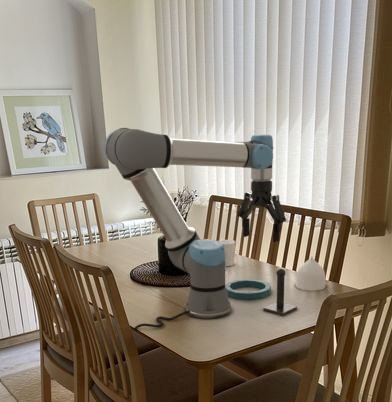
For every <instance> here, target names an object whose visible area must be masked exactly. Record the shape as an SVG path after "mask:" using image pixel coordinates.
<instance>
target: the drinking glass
mask: <svg viewBox="0 0 392 402" xmlns="http://www.w3.org/2000/svg"><path fill="white" fill-rule="evenodd" d="M217 241H218V242H220V243H221V244H222V245H223V246H224V249H225V256H226V258H225V267H232V266H234V265H235V257H236V240H233V239H220V240H217Z"/></svg>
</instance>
